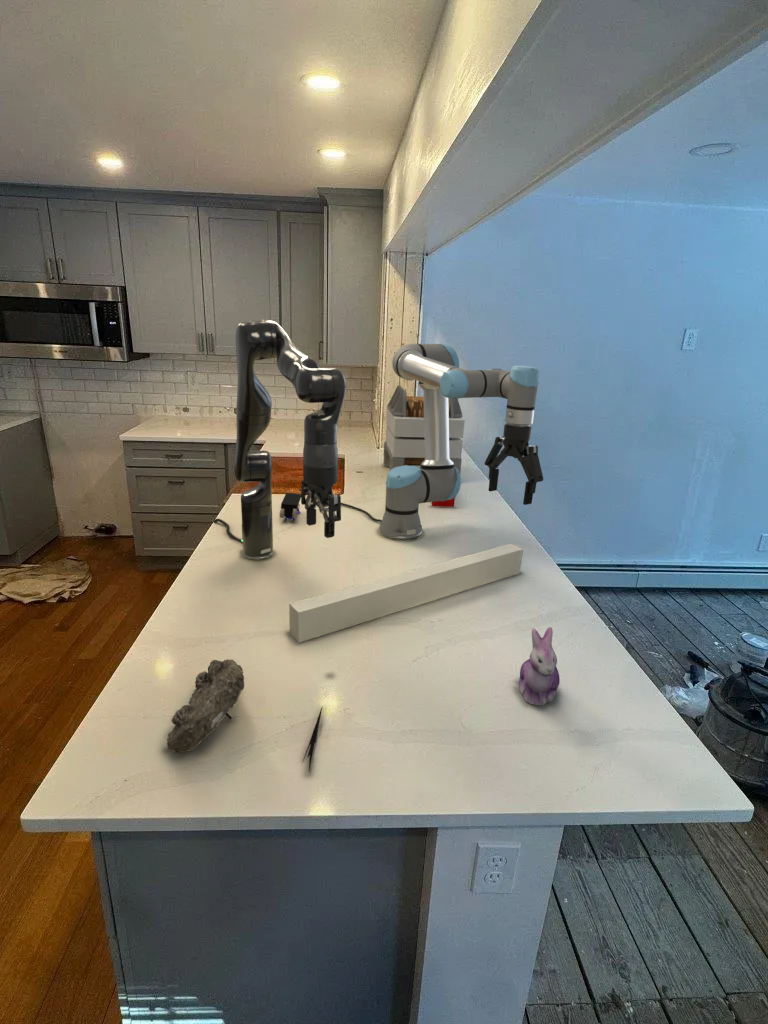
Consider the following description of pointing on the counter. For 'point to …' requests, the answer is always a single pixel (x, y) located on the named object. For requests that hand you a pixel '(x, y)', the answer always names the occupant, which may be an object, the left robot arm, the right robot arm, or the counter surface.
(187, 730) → the fossil
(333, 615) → the beam
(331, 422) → the left robot arm
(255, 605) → the counter surface
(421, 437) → the grey wooden crate
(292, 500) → the figurine character
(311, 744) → the feather
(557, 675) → the figurine
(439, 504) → the toy
